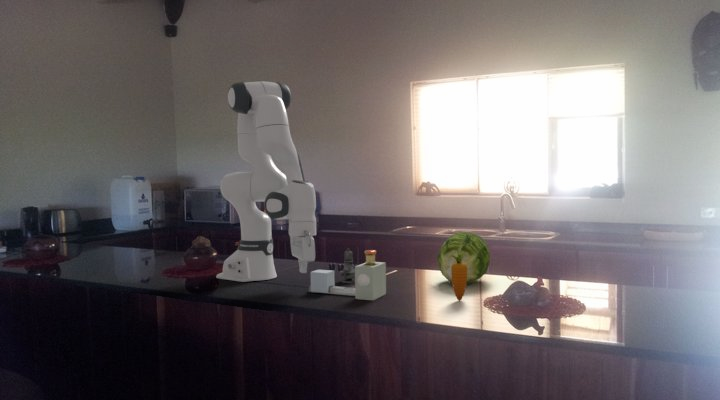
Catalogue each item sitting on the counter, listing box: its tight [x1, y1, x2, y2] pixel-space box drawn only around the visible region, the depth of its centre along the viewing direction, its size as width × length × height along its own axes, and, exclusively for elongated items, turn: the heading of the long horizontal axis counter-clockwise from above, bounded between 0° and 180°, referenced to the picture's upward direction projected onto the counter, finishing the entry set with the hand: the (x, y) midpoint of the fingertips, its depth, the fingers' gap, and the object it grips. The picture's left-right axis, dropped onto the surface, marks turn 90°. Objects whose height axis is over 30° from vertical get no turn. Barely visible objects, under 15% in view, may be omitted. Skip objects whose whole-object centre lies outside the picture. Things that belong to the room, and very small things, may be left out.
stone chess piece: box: [339, 247, 355, 284], centre depth 209 cm, size 6×6×12 cm
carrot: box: [451, 250, 467, 302], centre depth 177 cm, size 5×5×15 cm
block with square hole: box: [354, 261, 387, 301], centre depth 184 cm, size 6×10×10 cm, turn 155°
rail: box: [308, 284, 355, 297], centre depth 190 cm, size 18×2×2 cm, turn 65°
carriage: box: [310, 269, 336, 294], centre depth 192 cm, size 6×5×6 cm
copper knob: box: [364, 249, 377, 266], centre depth 184 cm, size 4×4×6 cm
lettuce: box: [437, 231, 491, 285], centre depth 203 cm, size 17×23×17 cm
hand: (303, 272), depth 194 cm, fingers closed
